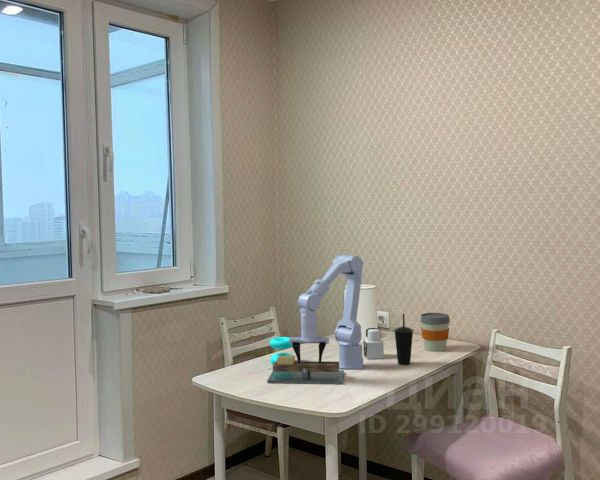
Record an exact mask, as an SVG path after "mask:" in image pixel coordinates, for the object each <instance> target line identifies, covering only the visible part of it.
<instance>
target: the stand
mask: <svg viewBox="0 0 600 480" xmlns="http://www.w3.org/2000/svg"><path fill="white" fill-rule="evenodd" d="M344 374H345V370H344V369H341V370H340V369H339V371H338V372H308V368H307V367H302V372H277V371H273V370H272V371H271V373H270V375H269V377H268V378H267V380H266V383H267V384H292V385H293V384H294V385H295V384H299V385H301V384H302V385H303V384H304V385H305V384H306V385H307V384H308V385H311V384H312V385H343V381H344Z"/></svg>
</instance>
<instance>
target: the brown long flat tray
mask: <svg viewBox="0 0 600 480" xmlns="http://www.w3.org/2000/svg"><path fill="white" fill-rule="evenodd" d="M302 367H307V368H308V372H338V371H339V370H340V369H339V361H327V360H326V361H324V360H323V361H322V360H321V363H319V360H318V361H310V360H305V361H304V360H303V361H302V360H301V362H300V363H298V360H295V364H294V366H290V365H277V361H275V363H274V364H272V371H277V372H302Z"/></svg>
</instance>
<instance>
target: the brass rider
mask: <svg viewBox="0 0 600 480" xmlns="http://www.w3.org/2000/svg"><path fill="white" fill-rule="evenodd" d="M295 357H296V355H293V356H278V358H277V365H290V366H294V364H295V361H296V358H295Z"/></svg>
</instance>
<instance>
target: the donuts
mask: <svg viewBox="0 0 600 480" xmlns="http://www.w3.org/2000/svg"><path fill="white" fill-rule="evenodd" d="M290 337H291V336H290ZM290 337H288V336H276V337H273V338H271V339H270V341H269V346H270V347H271V348H273V349H276V350H286V349H287V350H288V349H290V348H293V347H292V344H289V338H290ZM278 356H294V355H293V354H292V353H288V352H277V353H274V354H273V355H272V356H271V357H270V358H269V362H270V363H271V364H272V365H274V363H275V361H277V358H278Z"/></svg>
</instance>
